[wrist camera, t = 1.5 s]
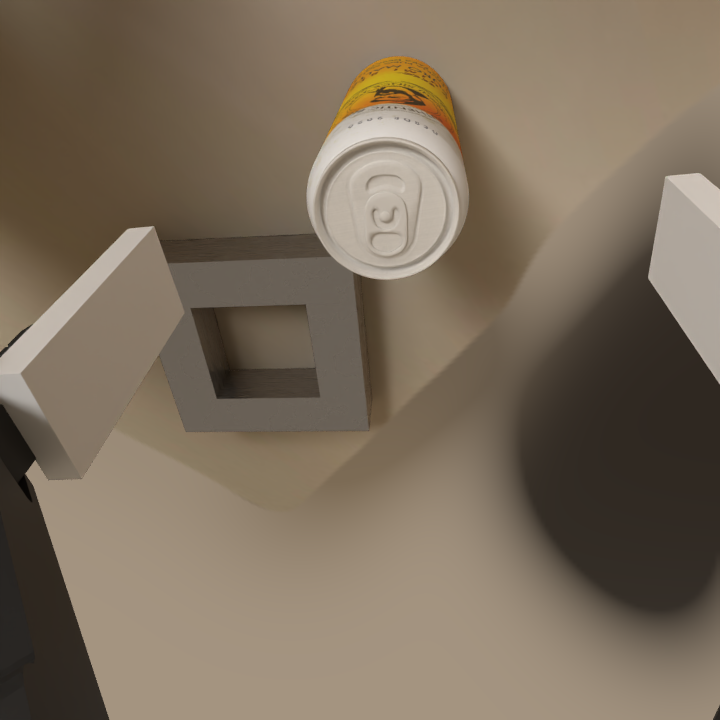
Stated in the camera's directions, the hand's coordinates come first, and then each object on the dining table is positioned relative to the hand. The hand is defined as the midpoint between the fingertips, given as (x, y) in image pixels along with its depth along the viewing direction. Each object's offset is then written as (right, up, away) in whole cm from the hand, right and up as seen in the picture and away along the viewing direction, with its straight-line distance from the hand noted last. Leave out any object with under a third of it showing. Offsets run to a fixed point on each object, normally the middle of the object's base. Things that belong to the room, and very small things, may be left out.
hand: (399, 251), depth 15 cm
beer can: (+1, +11, +18) cm, 21 cm away
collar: (-8, -1, +27) cm, 28 cm away
